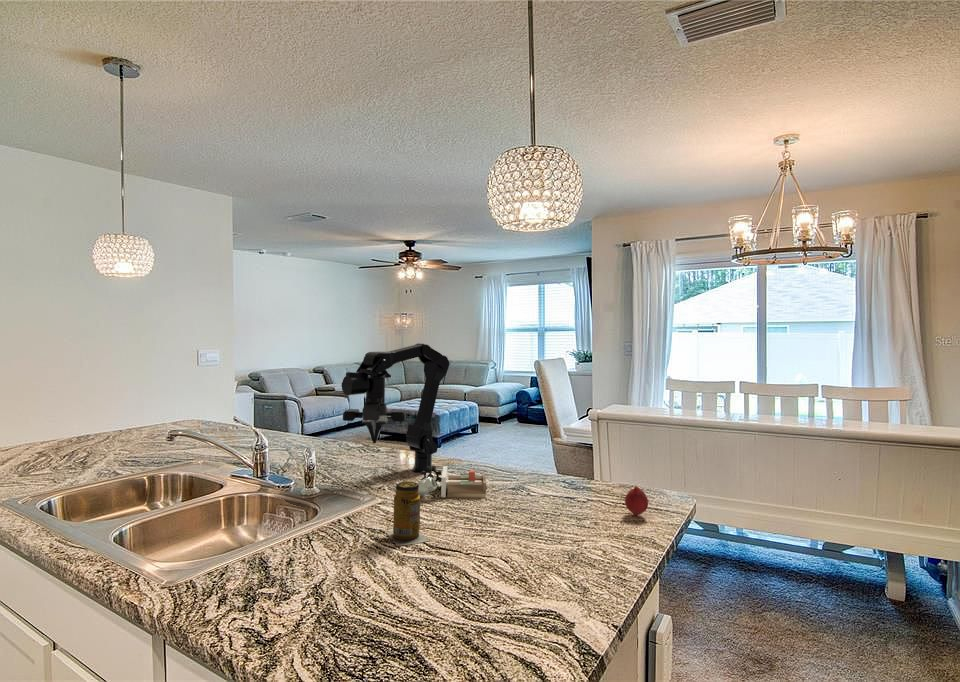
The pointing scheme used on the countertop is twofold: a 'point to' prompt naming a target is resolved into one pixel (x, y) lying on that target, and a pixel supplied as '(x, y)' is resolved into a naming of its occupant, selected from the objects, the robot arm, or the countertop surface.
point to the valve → (428, 481)
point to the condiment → (406, 515)
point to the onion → (636, 501)
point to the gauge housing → (466, 486)
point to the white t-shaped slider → (445, 482)
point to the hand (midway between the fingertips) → (374, 443)
